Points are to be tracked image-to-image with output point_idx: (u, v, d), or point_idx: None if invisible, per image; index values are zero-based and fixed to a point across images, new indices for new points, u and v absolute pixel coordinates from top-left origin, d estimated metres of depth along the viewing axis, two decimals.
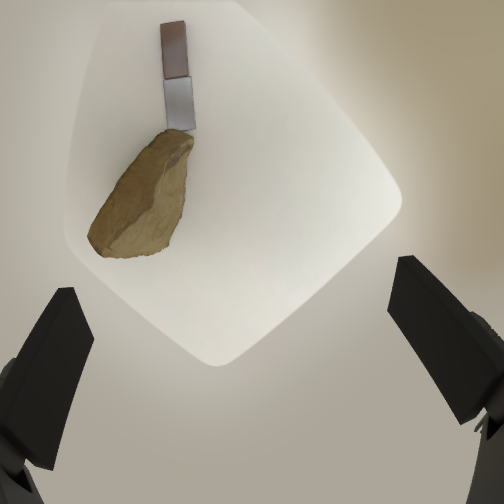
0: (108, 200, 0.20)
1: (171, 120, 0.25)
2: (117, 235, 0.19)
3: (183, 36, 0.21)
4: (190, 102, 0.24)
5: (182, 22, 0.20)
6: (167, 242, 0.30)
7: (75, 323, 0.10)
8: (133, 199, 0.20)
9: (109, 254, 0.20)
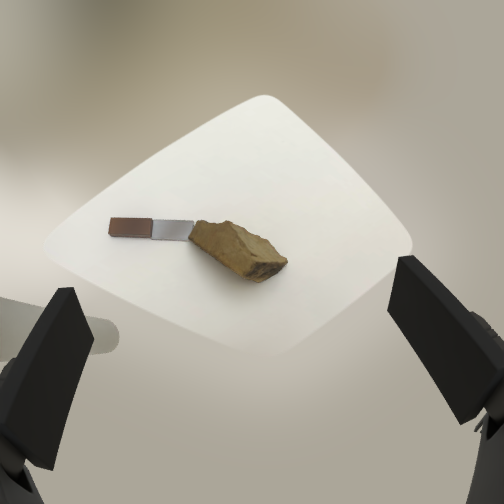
0: (219, 259, 0.28)
1: (183, 236, 0.36)
2: (242, 243, 0.26)
3: (122, 218, 0.35)
4: (172, 221, 0.36)
5: (111, 218, 0.34)
6: None
7: (75, 323, 0.10)
8: (222, 237, 0.28)
9: (260, 260, 0.27)
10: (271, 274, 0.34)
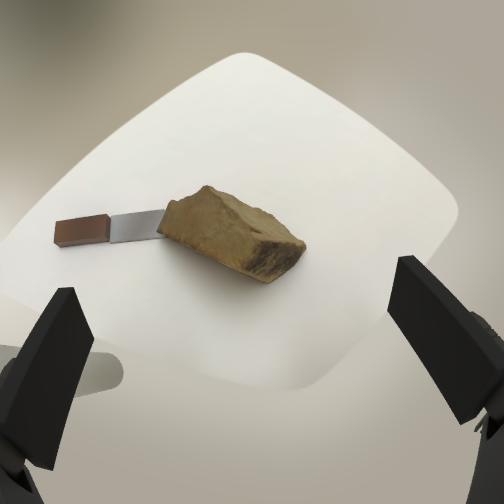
0: (200, 248, 0.16)
1: (152, 233, 0.24)
2: (233, 214, 0.15)
3: (70, 220, 0.23)
4: (136, 214, 0.25)
5: (57, 222, 0.23)
6: None
7: (75, 323, 0.10)
8: (200, 213, 0.17)
9: (268, 238, 0.15)
10: (286, 268, 0.23)
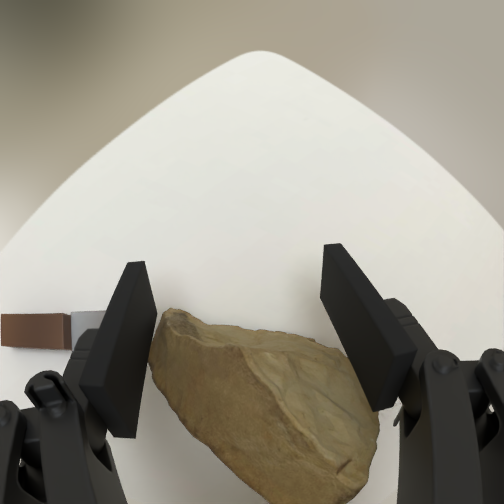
0: (225, 459, 0.07)
1: None
2: (303, 441, 0.06)
3: (17, 315, 0.14)
4: None
5: (2, 315, 0.14)
6: None
7: (146, 295, 0.12)
8: (224, 397, 0.08)
9: (362, 466, 0.06)
10: None
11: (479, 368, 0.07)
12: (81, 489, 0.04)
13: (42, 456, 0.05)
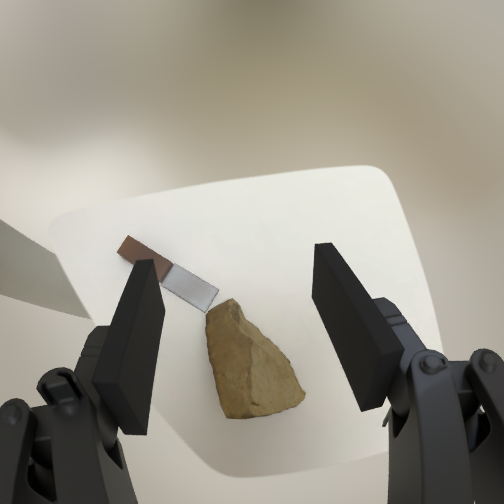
0: (216, 377, 0.19)
1: (197, 302, 0.28)
2: (249, 384, 0.17)
3: (139, 243, 0.28)
4: (194, 278, 0.28)
5: (128, 236, 0.28)
6: (301, 390, 0.26)
7: (155, 293, 0.12)
8: (234, 354, 0.19)
9: (260, 412, 0.17)
10: None
11: (468, 369, 0.07)
12: (93, 487, 0.04)
13: (54, 453, 0.05)
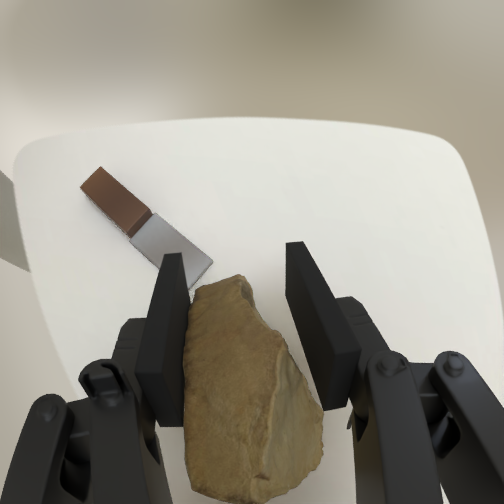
0: (188, 399, 0.09)
1: None
2: (261, 434, 0.07)
3: (112, 178, 0.18)
4: (179, 237, 0.18)
5: (100, 168, 0.19)
6: None
7: (183, 286, 0.13)
8: (236, 360, 0.09)
9: (269, 492, 0.07)
10: None
11: (433, 374, 0.07)
12: (133, 484, 0.05)
13: (91, 447, 0.05)
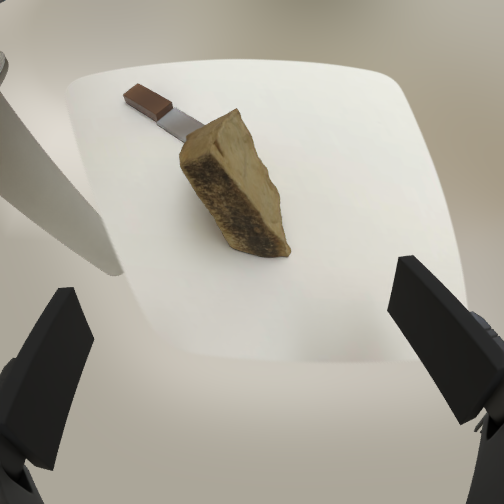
0: (186, 141, 0.17)
1: None
2: (218, 125, 0.15)
3: (146, 88, 0.26)
4: (190, 119, 0.26)
5: (138, 84, 0.26)
6: (286, 244, 0.23)
7: (75, 323, 0.10)
8: (213, 122, 0.17)
9: (223, 163, 0.14)
10: (251, 246, 0.21)
11: None
12: None
13: None
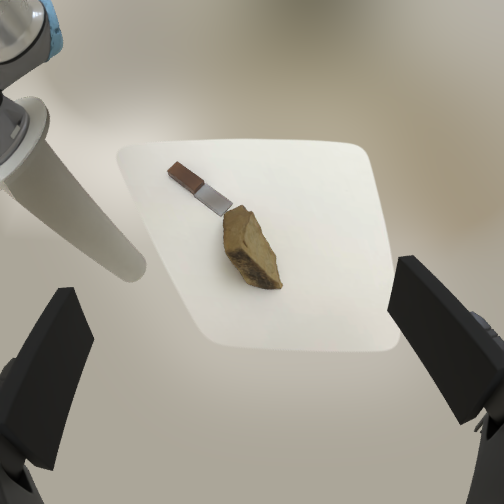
0: (225, 232, 0.32)
1: (216, 209, 0.41)
2: (244, 230, 0.30)
3: (184, 167, 0.42)
4: (217, 193, 0.41)
5: (177, 162, 0.42)
6: (280, 281, 0.38)
7: (75, 323, 0.10)
8: (239, 219, 0.32)
9: (247, 251, 0.30)
10: (259, 284, 0.37)
11: None
12: None
13: None
